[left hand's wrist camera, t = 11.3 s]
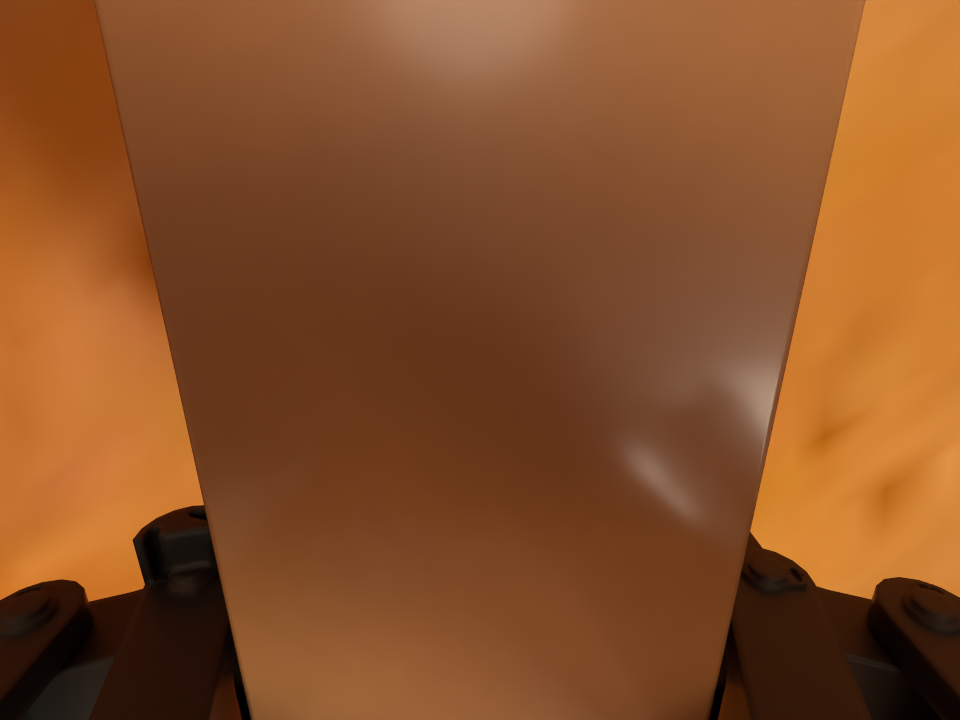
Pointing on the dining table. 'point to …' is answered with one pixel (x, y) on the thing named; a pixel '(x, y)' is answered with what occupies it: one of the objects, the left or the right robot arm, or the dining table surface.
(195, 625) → the left robot arm
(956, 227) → the dining table surface
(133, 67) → the bar
